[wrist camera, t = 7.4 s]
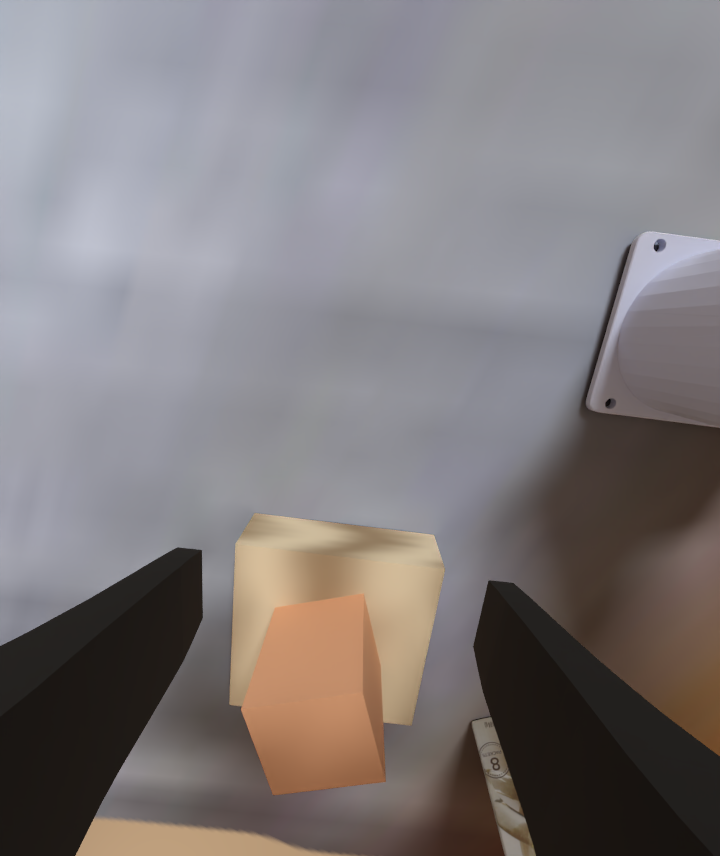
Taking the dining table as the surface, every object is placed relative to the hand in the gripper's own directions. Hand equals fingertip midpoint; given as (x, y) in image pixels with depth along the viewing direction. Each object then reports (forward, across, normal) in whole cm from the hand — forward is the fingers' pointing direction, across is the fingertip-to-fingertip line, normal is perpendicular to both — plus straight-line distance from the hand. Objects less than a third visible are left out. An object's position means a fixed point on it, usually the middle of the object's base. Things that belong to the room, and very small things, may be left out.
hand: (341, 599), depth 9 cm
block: (+7, 0, +9) cm, 11 cm away
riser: (+10, 0, +9) cm, 14 cm away
